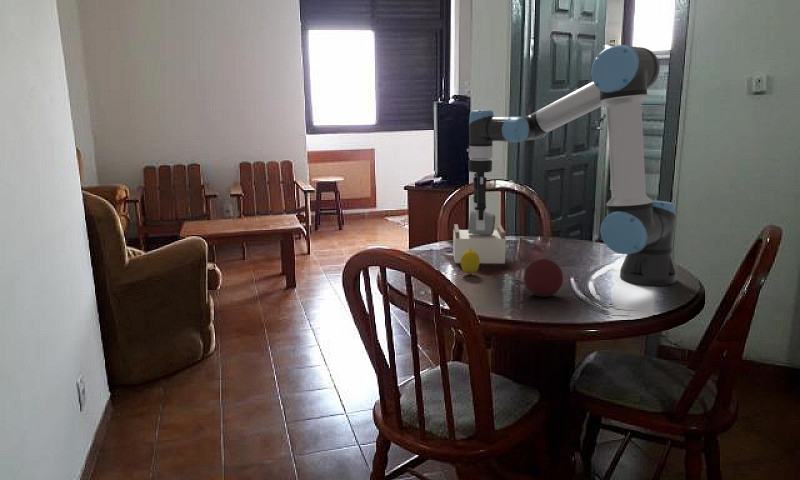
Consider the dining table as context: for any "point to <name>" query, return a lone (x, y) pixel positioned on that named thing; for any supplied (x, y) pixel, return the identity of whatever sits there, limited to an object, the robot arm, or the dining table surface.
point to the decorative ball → (543, 277)
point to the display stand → (480, 245)
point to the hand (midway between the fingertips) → (478, 226)
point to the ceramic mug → (488, 224)
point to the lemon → (470, 261)
